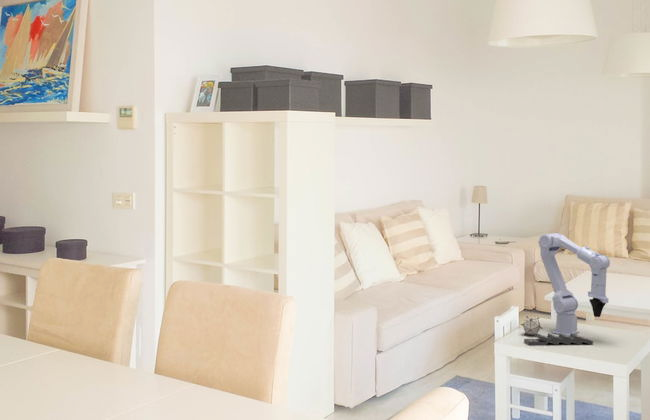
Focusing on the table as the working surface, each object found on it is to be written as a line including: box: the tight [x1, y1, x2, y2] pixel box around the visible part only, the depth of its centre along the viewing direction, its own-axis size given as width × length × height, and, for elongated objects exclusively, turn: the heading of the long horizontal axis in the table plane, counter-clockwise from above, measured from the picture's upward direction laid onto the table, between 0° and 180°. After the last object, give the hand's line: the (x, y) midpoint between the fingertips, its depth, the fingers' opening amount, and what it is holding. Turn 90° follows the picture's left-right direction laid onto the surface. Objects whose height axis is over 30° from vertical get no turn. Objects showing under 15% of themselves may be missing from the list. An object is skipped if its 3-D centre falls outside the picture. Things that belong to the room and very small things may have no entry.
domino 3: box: [546, 333, 572, 346], centre depth 313 cm, size 1×5×8 cm
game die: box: [520, 315, 543, 336], centre depth 326 cm, size 9×8×10 cm
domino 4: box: [558, 334, 583, 346], centre depth 313 cm, size 1×5×8 cm
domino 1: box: [523, 338, 549, 346], centre depth 312 cm, size 1×5×8 cm
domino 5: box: [570, 333, 594, 345], centre depth 314 cm, size 1×5×8 cm
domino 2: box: [535, 333, 560, 346], centre depth 312 cm, size 1×5×8 cm
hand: (597, 316), depth 317 cm, fingers closed
